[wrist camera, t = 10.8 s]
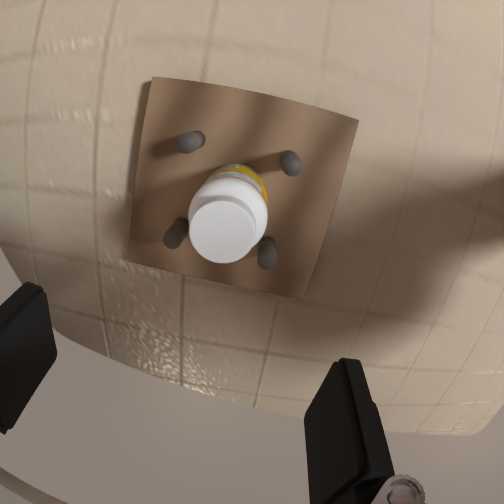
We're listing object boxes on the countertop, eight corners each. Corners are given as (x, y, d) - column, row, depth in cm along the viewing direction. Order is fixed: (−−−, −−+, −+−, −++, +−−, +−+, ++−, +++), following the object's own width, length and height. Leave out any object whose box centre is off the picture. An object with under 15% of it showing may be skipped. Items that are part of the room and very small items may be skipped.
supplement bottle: (246, 233, 29) (238, 289, 20) (194, 203, 28) (163, 246, 19) (279, 184, 27) (286, 220, 18) (225, 151, 26) (203, 171, 17)
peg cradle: (354, 119, 26) (372, 121, 21) (301, 291, 33) (307, 320, 29) (157, 78, 25) (137, 72, 20) (134, 255, 32) (115, 278, 28)
